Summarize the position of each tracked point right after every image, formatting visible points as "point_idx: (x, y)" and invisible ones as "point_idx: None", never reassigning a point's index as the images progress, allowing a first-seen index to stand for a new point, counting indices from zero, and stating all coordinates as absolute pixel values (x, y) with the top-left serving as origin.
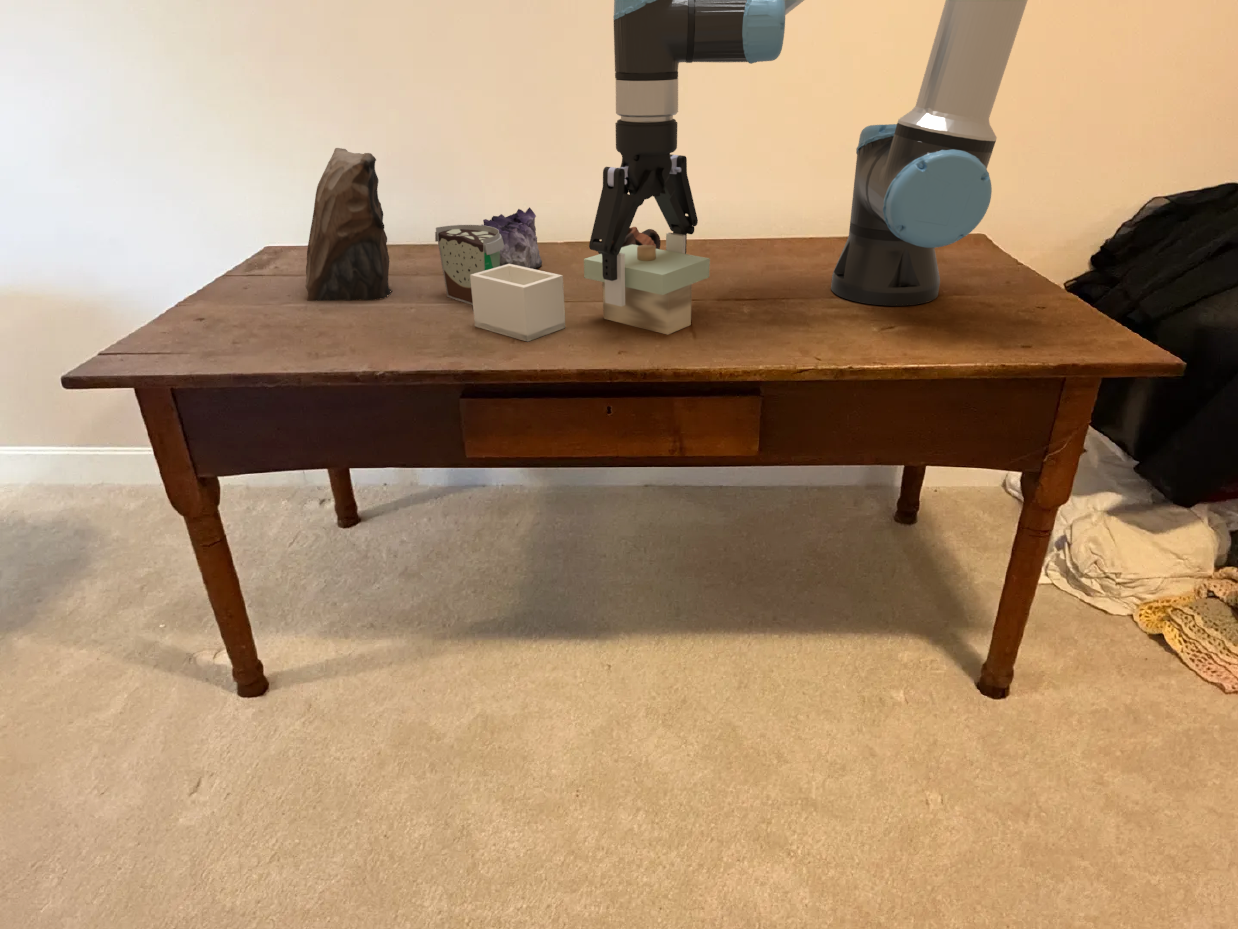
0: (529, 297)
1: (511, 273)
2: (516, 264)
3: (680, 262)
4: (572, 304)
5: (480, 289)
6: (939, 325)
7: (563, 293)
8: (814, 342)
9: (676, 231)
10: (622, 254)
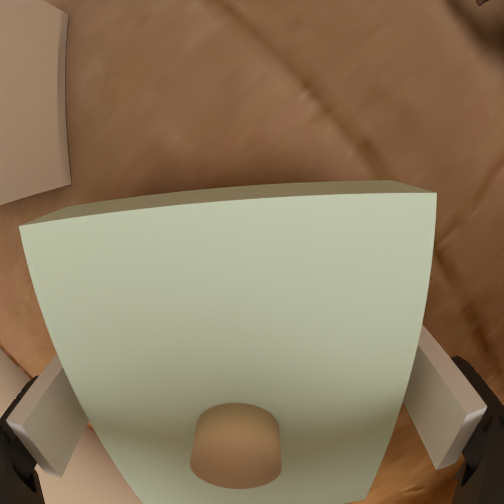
0: None
1: None
2: None
3: (276, 495)
4: (218, 35)
5: None
6: (438, 494)
7: (16, 199)
8: None
9: (476, 440)
10: (51, 474)
